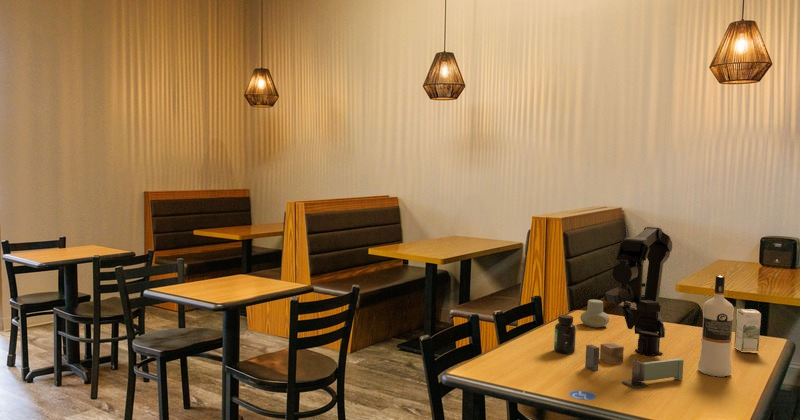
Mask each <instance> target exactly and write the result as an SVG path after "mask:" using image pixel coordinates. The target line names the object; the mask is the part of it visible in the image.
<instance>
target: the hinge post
mask: <svg viewBox="0 0 800 420" xmlns="http://www.w3.org/2000/svg"><path fill="white" fill-rule="evenodd" d="M640 363H641V361H640V360H637V359H632V369H631V379H627V380H626V379H625V380H622V381H621V383H622V384H624V385H626V386H627V387H631V388H632V389H634V390H635V389H643V388H648V387H649V384H648V383H645V382H644V381H643V382H642V381H639V374H640Z"/></svg>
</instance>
